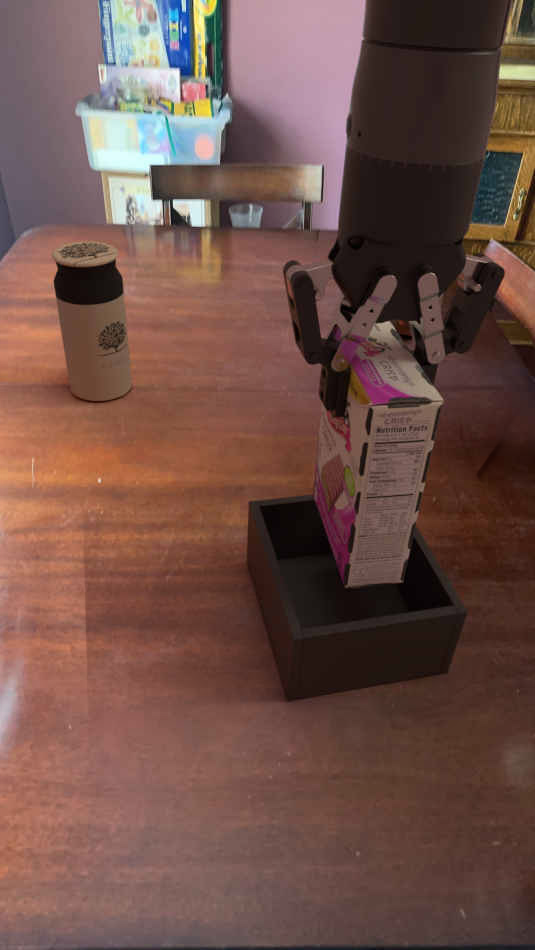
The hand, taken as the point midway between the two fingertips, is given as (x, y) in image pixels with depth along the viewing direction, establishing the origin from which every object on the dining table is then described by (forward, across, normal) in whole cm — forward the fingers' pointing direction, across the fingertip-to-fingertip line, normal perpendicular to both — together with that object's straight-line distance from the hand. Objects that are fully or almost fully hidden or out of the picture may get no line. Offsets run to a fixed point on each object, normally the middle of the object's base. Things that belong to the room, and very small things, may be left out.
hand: (373, 407), depth 47 cm
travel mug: (+21, -19, +43) cm, 52 cm away
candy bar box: (+13, 0, 0) cm, 13 cm away
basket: (+21, 0, 0) cm, 21 cm away
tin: (+22, +31, +55) cm, 67 cm away
